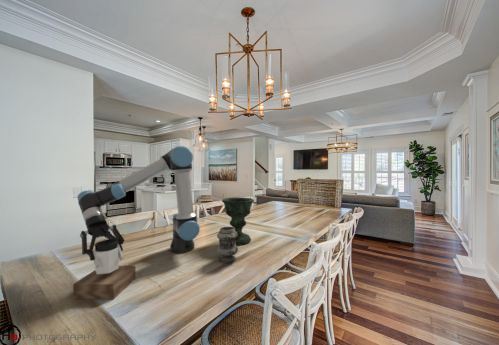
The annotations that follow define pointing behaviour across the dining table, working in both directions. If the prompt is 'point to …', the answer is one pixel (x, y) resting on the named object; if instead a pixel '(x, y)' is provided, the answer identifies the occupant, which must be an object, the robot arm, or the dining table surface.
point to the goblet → (238, 216)
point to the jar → (107, 256)
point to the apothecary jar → (227, 244)
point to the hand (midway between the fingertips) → (110, 262)
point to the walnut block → (104, 284)
